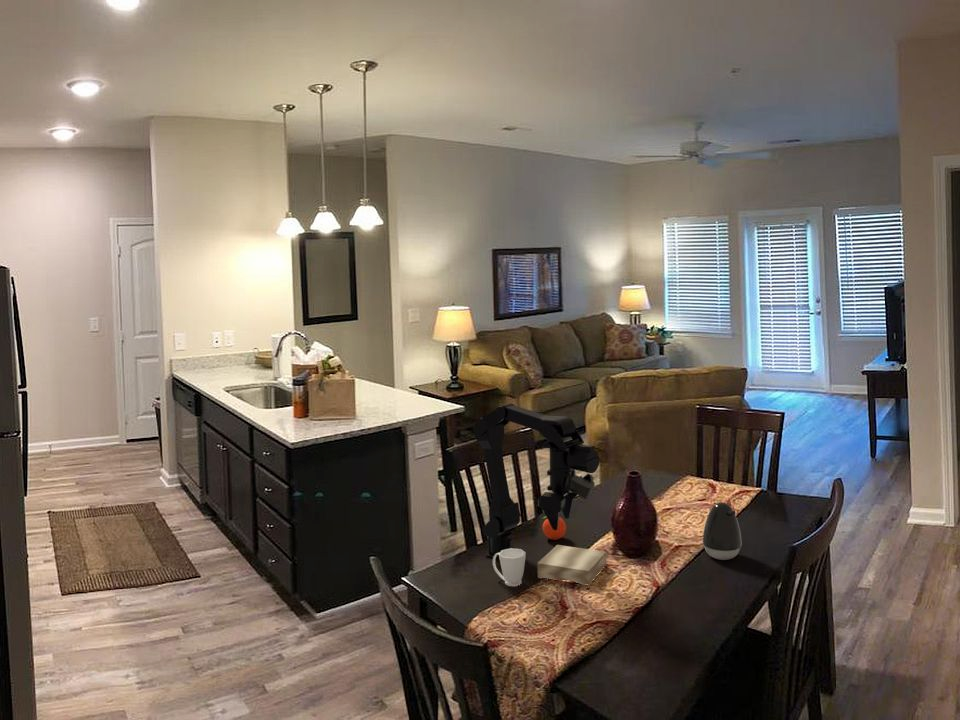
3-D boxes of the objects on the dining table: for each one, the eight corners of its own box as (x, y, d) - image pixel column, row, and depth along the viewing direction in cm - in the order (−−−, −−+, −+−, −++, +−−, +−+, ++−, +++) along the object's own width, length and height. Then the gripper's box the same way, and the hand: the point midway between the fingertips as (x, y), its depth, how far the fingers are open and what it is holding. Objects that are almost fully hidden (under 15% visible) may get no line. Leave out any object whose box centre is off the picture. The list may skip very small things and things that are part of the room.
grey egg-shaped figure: (717, 566, 210) (717, 510, 208) (695, 553, 220) (695, 499, 218) (750, 560, 213) (750, 505, 211) (726, 547, 223) (726, 495, 221)
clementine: (536, 541, 233) (535, 518, 232) (543, 533, 240) (542, 510, 239) (562, 544, 230) (561, 520, 229) (569, 536, 236) (568, 513, 236)
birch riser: (537, 577, 207) (537, 563, 206) (557, 558, 219) (557, 544, 219) (588, 586, 201) (588, 571, 200) (606, 566, 213) (606, 551, 212)
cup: (515, 591, 199) (514, 560, 198) (485, 581, 206) (484, 551, 205) (532, 581, 205) (531, 551, 204) (502, 572, 211) (501, 543, 210)
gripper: (579, 479, 193) (579, 540, 195) (601, 459, 210) (601, 516, 212) (536, 474, 198) (537, 534, 200) (561, 456, 215) (561, 511, 217)
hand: (561, 524), depth 207 cm, fingers open, 9 cm apart
